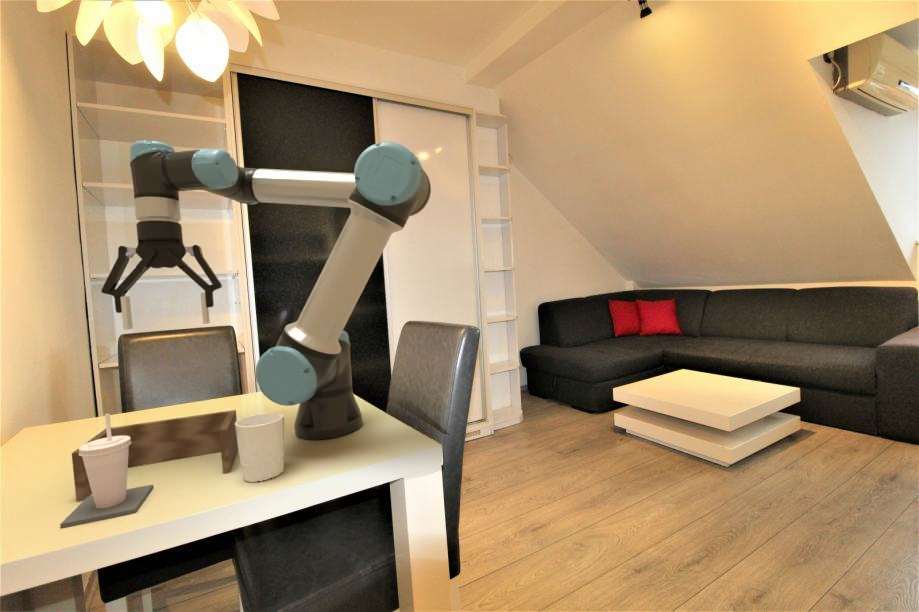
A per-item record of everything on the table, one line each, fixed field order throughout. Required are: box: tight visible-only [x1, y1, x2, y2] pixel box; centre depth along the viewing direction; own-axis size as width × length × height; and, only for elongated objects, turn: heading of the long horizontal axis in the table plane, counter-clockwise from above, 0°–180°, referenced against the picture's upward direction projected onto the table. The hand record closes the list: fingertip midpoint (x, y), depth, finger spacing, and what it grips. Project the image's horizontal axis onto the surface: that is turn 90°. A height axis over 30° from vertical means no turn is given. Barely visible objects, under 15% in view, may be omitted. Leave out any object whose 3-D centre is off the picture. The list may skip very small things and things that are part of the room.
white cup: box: [235, 412, 285, 483], centre depth 76 cm, size 8×8×10 cm
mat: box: [59, 484, 154, 529], centre depth 67 cm, size 9×9×1 cm
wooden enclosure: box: [71, 409, 238, 502], centre depth 80 cm, size 22×14×8 cm, turn 112°
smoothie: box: [78, 413, 131, 508], centre depth 67 cm, size 6×6×14 cm
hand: (168, 326), depth 87 cm, fingers open, 13 cm apart
